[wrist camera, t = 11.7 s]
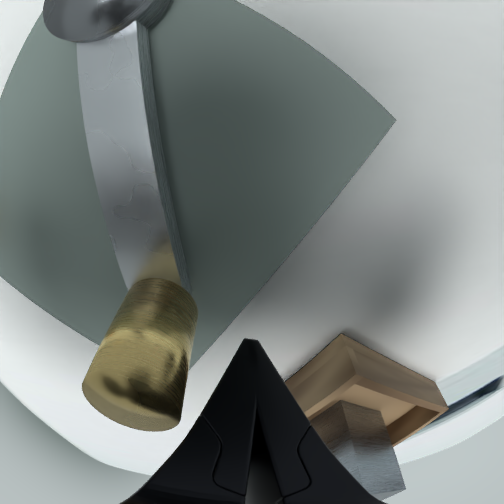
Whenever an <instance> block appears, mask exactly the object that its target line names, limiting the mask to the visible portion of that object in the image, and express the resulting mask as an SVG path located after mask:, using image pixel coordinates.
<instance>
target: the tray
mask: <svg viewBox="0 0 504 504" xmlns="http://www.w3.org/2000/svg"><path fill="white" fill-rule="evenodd" d="M284 383H285V384H286V386H287V387H288V389H289V390H290V392H291V394H292V395H293V397H294V398H295V400H296V401H297V403H298V404H299V406H300V407H301V409H302V410H303V412H304V414H305V415H306V417H307V418H308V420H309V421H310V420H312V419H313V418H315V417H316V416H318V415H319V414H321V413H322V412H324V411H325V410H327V409H328V408H330V407H331V406H332V405H334V404H335V403H337V402H338V401H339V400H344V401H347V402H350V403H354V404H357V405H360V406H364V407H368V408H371V409H375V410H379V411H381V414H382V417H383V420H384V422H385V425H386V428H387V431H388V434H389V437H390V440H391V443H392V446H393V447H394V446H396V445H397V444H399V443H400V442H402V441H404V440H405V439H407V438H408V437H410V436H411V435H413V434H414V433H416V432H417V431H419V430H420V429H422V428H423V427H425V426H426V425H428V424H429V423H430V422H432V421H433V420H435V419H436V418H437V417H439V416H440V415H441V414H443V413H444V412H445V411H446V410H448V409H449V408H448V406H447V404H446V402H445V400H444V398H443V396H442V394H441V392H440V390H439V389H438V387H437V385H436V383H435V382H434V381H432V380H430V379H428V378H426V377H424V376H422V375H420V374H418V373H416V372H414V371H412V370H410V369H408V368H406V367H404V366H402V365H400V364H398V363H396V362H394V361H392V360H390V359H388V358H387V357H385V356H383V355H381V354H379V353H377V352H375V351H373V350H371V349H369V348H367V347H366V346H364V345H362V344H360V343H358V342H356V341H354V340H352V339H351V338H349V337H347V336H345V335H343V334H340V335H339V336H338V337H337V338H336V339H335V340H334V341H332V342H331V343H330V344H329V345H328V346H327V347H326V348H325V349H324V350H322V351H321V352H320V353H319V354H318V355H317V356H316V357H314V358H313V359H312V360H311V361H310V362H309V363H307V364H306V365H305V366H304V367H303V368H302V369H300V370H299V371H298V372H297V373H296V374H294V375H293V376H292V377H291V378H289V379H288V380H287V381H286V382H284Z"/></svg>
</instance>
